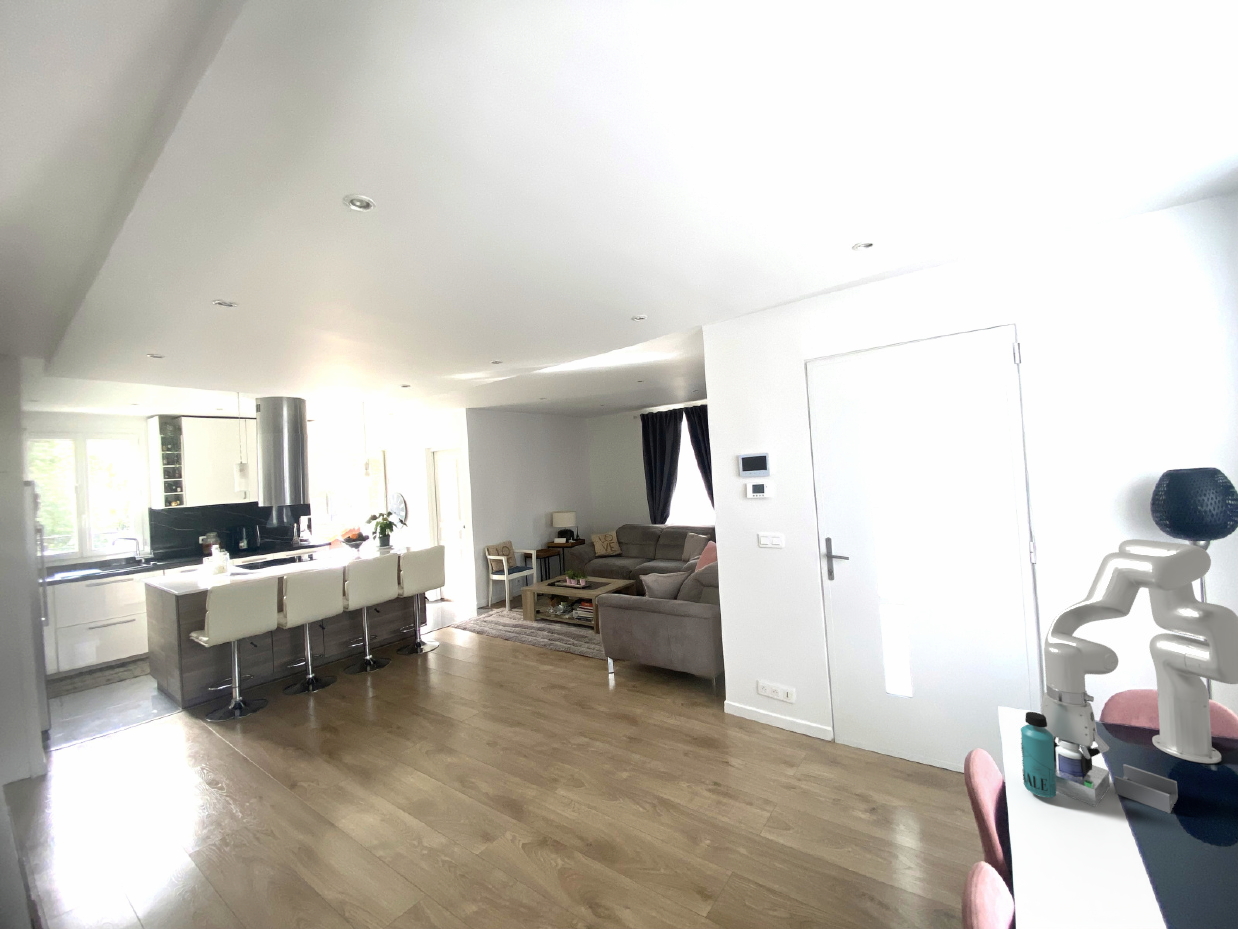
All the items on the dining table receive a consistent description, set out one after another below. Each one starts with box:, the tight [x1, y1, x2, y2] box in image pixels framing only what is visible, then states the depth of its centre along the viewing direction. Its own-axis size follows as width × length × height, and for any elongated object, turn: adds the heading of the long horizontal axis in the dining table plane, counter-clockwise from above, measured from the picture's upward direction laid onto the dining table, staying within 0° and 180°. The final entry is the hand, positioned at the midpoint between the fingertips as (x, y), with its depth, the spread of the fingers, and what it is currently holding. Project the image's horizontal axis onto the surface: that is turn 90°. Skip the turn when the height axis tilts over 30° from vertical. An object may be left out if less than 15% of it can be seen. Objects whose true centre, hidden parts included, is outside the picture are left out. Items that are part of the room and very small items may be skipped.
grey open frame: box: [1114, 763, 1179, 814], centre depth 122 cm, size 9×9×4 cm
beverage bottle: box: [1020, 711, 1057, 798], centre depth 123 cm, size 6×7×20 cm
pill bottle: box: [1055, 738, 1085, 779], centre depth 127 cm, size 5×5×10 cm
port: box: [1054, 762, 1111, 807], centre depth 127 cm, size 12×12×5 cm
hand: (1070, 765), depth 127 cm, fingers closed on pill bottle, 5 cm apart
